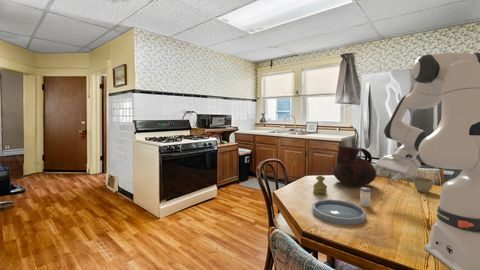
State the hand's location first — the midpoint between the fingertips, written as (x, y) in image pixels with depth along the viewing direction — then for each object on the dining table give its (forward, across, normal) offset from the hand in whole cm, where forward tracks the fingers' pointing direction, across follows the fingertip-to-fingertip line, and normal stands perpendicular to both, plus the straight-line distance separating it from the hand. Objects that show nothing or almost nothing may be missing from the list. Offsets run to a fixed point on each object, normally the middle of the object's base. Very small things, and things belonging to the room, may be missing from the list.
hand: (385, 177), depth 121 cm
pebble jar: (+17, 0, +2) cm, 17 cm away
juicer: (-18, -27, +38) cm, 50 cm away
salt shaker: (+26, -21, -7) cm, 34 cm away
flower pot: (-18, -12, +37) cm, 43 cm away
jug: (+4, -32, +15) cm, 36 cm away
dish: (+31, +6, -12) cm, 34 cm away
